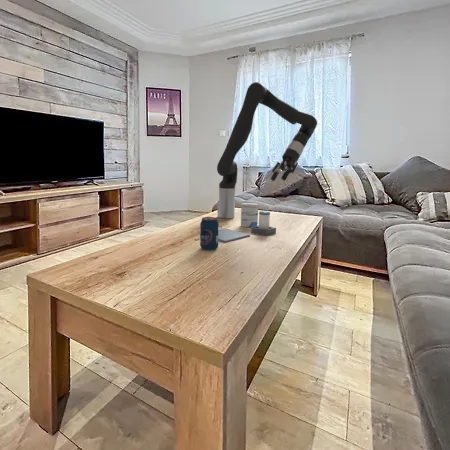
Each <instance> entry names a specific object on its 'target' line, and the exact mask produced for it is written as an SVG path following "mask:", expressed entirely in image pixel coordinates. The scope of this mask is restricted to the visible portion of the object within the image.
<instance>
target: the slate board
mask: <svg viewBox="0 0 450 450" xmlns="http://www.w3.org/2000/svg"><path fill="white" fill-rule="evenodd" d="M249 237H251V234H249V233H247V232H246V233H245V232H241V231H237V230H233V229H230V228H229V229H228V228H221V229H218V242H221V243H229V242H233V241H237V240H241V239H245V238H249Z"/></svg>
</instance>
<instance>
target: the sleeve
mask: <svg viewBox="0 0 450 450" xmlns="http://www.w3.org/2000/svg"><path fill="white" fill-rule="evenodd" d="M258 228H259V225H257V226H256V227H251V233H252V234H257V235H260V236H265V237H266V236H270V235H273V234H276V233H277V227H274V226H269V229H268V230H263V229H258Z"/></svg>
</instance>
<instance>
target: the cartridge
mask: <svg viewBox="0 0 450 450" xmlns="http://www.w3.org/2000/svg"><path fill="white" fill-rule="evenodd" d="M270 217H271V212H270V211H267V210H266V211H265V210H263V211H262V210H260V211H258V226H259V228H258V229H263V230H268V229H269V227H270V221H271V220H270Z"/></svg>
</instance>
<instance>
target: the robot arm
mask: <svg viewBox="0 0 450 450" xmlns="http://www.w3.org/2000/svg"><path fill="white" fill-rule="evenodd" d="M258 105H263V106H265V107H267V108H269V109H270V110H272V111H273V112H274V113H276V114H277V116H279V117H281V118H282V119H283V120H285V121H286V122H288V123H290V124H291V125H296V124H298V125H301V126H300V127H299V130H298V131H297V132H296V134H295V135H294V137H293V138H292V140H291V142H289V144H288V146H287V147H286V149H285V151H284V153H283V155H282V156H281V158H282V160H281V161H280V162H279V161H277V162H276V164H275V165H274V167H273V168H272V170H271V172H272V175H271V177H270V180H271V181H272V182H275V181H276V179H277V177H278V175H279V174H282V173H283V172H284V173H283V174H282V176H281V178H280V179H281V180H282V181H286V180H287V178H288V177H289V175H290V174H291V173H292V174H293V173H294V172H295V170H296V169H297V166H298V164H299V162H298V160H299V159H300V157H301V155H302V154H303V152H304V149H305V148H306V146H307V143H308V141H309V140H310V138H312V135H313V133H314V132H315V130H316V128H317V126H318V120H317V119H316V117H314V116H313V115H312V114H309V113H307V112H303V111H300V110H298V109H297V108H295V107H294V106H292V105H290V104H289V103H287V102H285V101H284V100H282V99H280V98H278V97H277V95H274V93H272V92H271V91H270V90H269V89H268V88H267V87H266V86H265V84H262V83H261V82H258V81H257V82H255V81H254V82H252V83H250V85H248V87H247V89H246V93H245V97H244V99H243V103H242V107H241V109H240V111H239V113H238V116H237V119H236V121H235V123H234V126H233V128H232V131H231V134H230V136H229V139H228V142H227V143H226V146H225V149H224V151H223V153H222V155H221V157H220V159H218V160H219V161H218V162H217V165H216V171H217V173H218V175H219V176H222V180H221V181H220V182H219V184H218V200H217V217H218V218H219V219H227V220H228V219H234V218H235V204H236V202H235V201H236V184H237V180H238V164H237V162H236V161H235V158H236V156H237V154H238V153H239V152H240V150H241V149H243V148H242V147H244V145H245V144H246V142H247V141H248V138H249V136H250V134H251V130H252V127H253V123H254V122H253V121H254V117H255V114H256V113H255V112H256V110H257V108H258ZM217 217H216V218H217Z"/></svg>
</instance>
